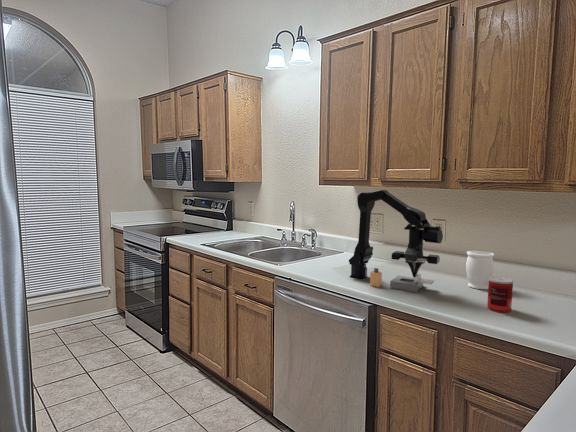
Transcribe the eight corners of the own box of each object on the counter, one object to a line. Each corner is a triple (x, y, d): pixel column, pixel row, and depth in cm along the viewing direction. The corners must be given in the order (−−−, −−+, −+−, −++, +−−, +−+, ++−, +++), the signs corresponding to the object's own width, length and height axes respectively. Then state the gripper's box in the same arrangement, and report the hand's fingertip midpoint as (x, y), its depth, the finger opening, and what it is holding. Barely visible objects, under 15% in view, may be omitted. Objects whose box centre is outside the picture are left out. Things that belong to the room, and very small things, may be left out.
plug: (370, 285, 174) (370, 268, 174) (372, 284, 177) (372, 267, 176) (379, 287, 172) (379, 269, 172) (381, 285, 175) (381, 268, 174)
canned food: (503, 305, 149) (505, 276, 147) (516, 313, 141) (518, 282, 139) (482, 305, 148) (484, 276, 147) (494, 313, 140) (496, 282, 139)
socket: (390, 288, 171) (390, 281, 171) (397, 282, 180) (398, 275, 180) (416, 292, 165) (416, 284, 165) (423, 285, 174) (423, 279, 174)
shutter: (415, 282, 168) (415, 276, 168) (418, 279, 172) (418, 273, 172) (431, 284, 164) (431, 278, 164) (434, 281, 169) (434, 275, 169)
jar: (459, 284, 176) (461, 251, 175) (477, 282, 180) (479, 249, 179) (479, 291, 167) (480, 255, 165) (497, 289, 170) (499, 254, 169)
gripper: (387, 241, 167) (386, 278, 169) (434, 245, 157) (433, 284, 159) (396, 238, 176) (395, 273, 178) (440, 241, 167) (439, 278, 168)
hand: (414, 277), depth 170 cm, fingers closed
